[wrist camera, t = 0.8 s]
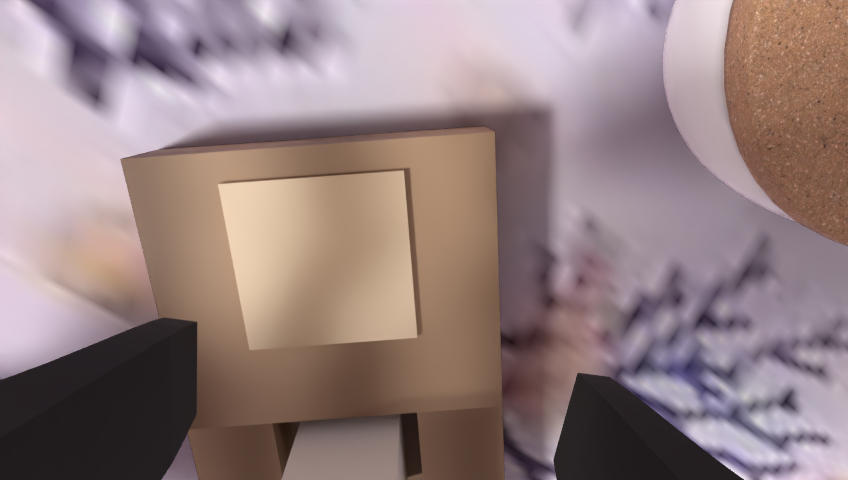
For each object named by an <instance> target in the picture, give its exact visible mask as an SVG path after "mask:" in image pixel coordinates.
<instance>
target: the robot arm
mask: <svg viewBox="0 0 848 480" xmlns="http://www.w3.org/2000/svg"><path fill="white" fill-rule="evenodd" d="M196 415H197V322H195V321H188V320H180V319H173V318H165V317H164V318H161V319H157V320H154V321H151V322H148V323H146V324H143V325H140V326H138V327H135V328H132V329H130V330H127V331H125V332H122V333H120V334H117V335H115V336H113V337H110V338H108V339H105V340H103V341H100V342H98V343H95V344H93V345H91V346H88V347H86V348H83V349H81V350H78V351H76V352H73V353H71V354H68V355H66V356H63V357H61V358H59V359H56V360H54V361H51V362H49V363H46V364H43V365H41V366H38V367H35V368H33V369H30V370H27V371H24V372H22V373H19V374H16V375H14V376H11V377H8V378H6V379H3V380H0V480H161V479H162V478H163V476H164V475H165V473H166V472H167V470H168V469H169V467H170V465H171V464H172V462H173V460H174V458H175V456H176V455H177V453H178V451H179V449H180V447H181V445H182V443H183V441H184V439H185V437H186V435H187V433H188V431H189V429H190V427H191V425H192V423H193V421H194V419H195V417H196ZM554 466H555V472H556V478H557V480H744V479H742V478H741V477H739V476H738V475H737V474H735V473H734V472H732V471H731V470H730V469H728V468H727V467H726V466H724V465H723V464H722V463H720V462H719V461H718V460H716V459H715V458H714V457H712V456H711V455H710V454H709V453H707V452H706V451H705V450H703V449H702V448H701V447H699V446H698V445H697V444H696V443H694V442H693V441H692V440H691V439H689V438H688V437H687V436H685V435H684V434H683V433H682V432H680V431H679V430H678V429H677V428H675V427H674V426H673V425H672V424H670V423H669V422H668V421H667V420H665V419H664V418H663V417H662V416H660V415H659V414H658V413H657V412H655V411H654V410H653V409H652V408H650V407H649V406H648V405H647V404H645V403H644V402H643V401H641V400H640V399H639V398H638V397H636V396H635V395H634V394H632V393H631V392H630V391H629V390H627V389H626V388H625V387H623V386H622V385H620V384H619V383H618V382H616V381H614V380H613V379H611V378H610V377H605V376H598V375H590V374H583V373H577V377H576V381H575V384H574V388H573V391H572V395H571V399H570V402H569V406H568V409H567V413H566V417H565V420H564V424H563V428H562V431H561V435H560V438H559V442H558V446H557V449H556V453H555V456H554Z"/></svg>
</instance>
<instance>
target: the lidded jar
mask: <svg viewBox="0 0 848 480" xmlns="http://www.w3.org/2000/svg"><path fill="white" fill-rule="evenodd" d="M663 82H664V87H665V92H666V97H667V103H668V106H669V108H670V111H671V114H672V116H673V119H674V122H675V124H676V126H677V128H678V130H679V132H680V134H681V135H682V137H683V139H684V141H685V142H686V144H687V146H688V147H689V149H690V150H691V152H692V153H693V154H694V155H695V156H696V157H697V159H698V160H699V161H700V162H701V163H702V164H703V166H704V167H706V168H707V169H708V170H709V171H710V172H711V173H712V174H714V175H715V176H716V177H717V178H718V179H720V180H721V181H722V182H723V183H725V184H726V185H727V186H728V187H730V188H731V189H732V190H733V191H735V192H737V193H739V194H740V195H742V196H744V197H745V198H747V199H749V200H750V201H752V202H754V203H756V204H758V205H760V206H762V207H764V208H765V209H767V210H769V211H771V212H773V213H775V214H778V215H780V216H782V217H785V218H787V219H790V220H792V221H794V222H797V223H799V224H801V225H803V226H805V227H807V228H809V229H811V230H813V231H815V232H816V233H818V234H820V235H822V236H824V237H826V238H828V239H831V240H833V241H836V242H838V243H841V244H844V245H847V246H848V0H675V2H674V5H673V7H672V10H671V14H670V18H669V22H668V25H667V29H666V33H665V42H664V50H663Z"/></svg>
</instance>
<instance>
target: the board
mask: <svg viewBox="0 0 848 480" xmlns="http://www.w3.org/2000/svg"><path fill="white" fill-rule="evenodd" d="M121 163H122V167H123V171H124V176H125V180H126V184H127V188H128V192H129V196H130V200H131V204H132V208H133V212H134V216H135V221H136V225H137V229H138V233H139V237H140V241H141V245H142V249H143V253H144V257H145V261H146V265H147V270H148V274H149V278H150V282H151V286H152V290H153V294H154V298H155V302H156V306H157V310H158V315H159V319H161V318H164V317H165V318H173V319H180V320H188V321H195V322H197V415H196V417H195V419H194V421H193V423H192V425H191V427H190V429H189V431H188V437H189V441H190V445H191V449H192V453H193V458H194V462H195V466H196V470H197V474H198V478H199V480H281V479H282V476H283V473H284V470H285V467H286V464H287V461H288V458H289V455H290V452H291V449H292V446H293V443H294V440H295V437H296V434H297V431H298V428H299V425H300V422H301V421H311V420H324V419H338V418H351V417H365V416H378V415H392V414H401V415H402V425H403V435H404V446H405V456H406V467H407V477H408V480H504V444H503V408H502V372H501V336H500V300H499V263H498V227H497V191H496V155H495V132H494V131H493V130H491V129H489V128H487V127H485V126H475V127H462V128H448V129H434V130H420V131H407V132H393V133H379V134H365V135H352V136H338V137H324V138H310V139H297V140H283V141H269V142H255V143H242V144H228V145H214V146H200V147H187V148H173V149H159V150H154V151H150V152H146V153H142V154H138V155H134V156H131V157H127V158H123V159H121Z"/></svg>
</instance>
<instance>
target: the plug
mask: <svg viewBox="0 0 848 480" xmlns="http://www.w3.org/2000/svg"><path fill="white" fill-rule="evenodd" d="M281 480H408V477H407V467H406V456H405V446H404V435H403V425H402V415H401V414H392V415H378V416H365V417H351V418H338V419H324V420H311V421H301V422H300V425H299V428H298V431H297V434H296V437H295V440H294V443H293V446H292V449H291V452H290V455H289V458H288V461H287V464H286V467H285V470H284V473H283V476H282V479H281Z"/></svg>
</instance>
